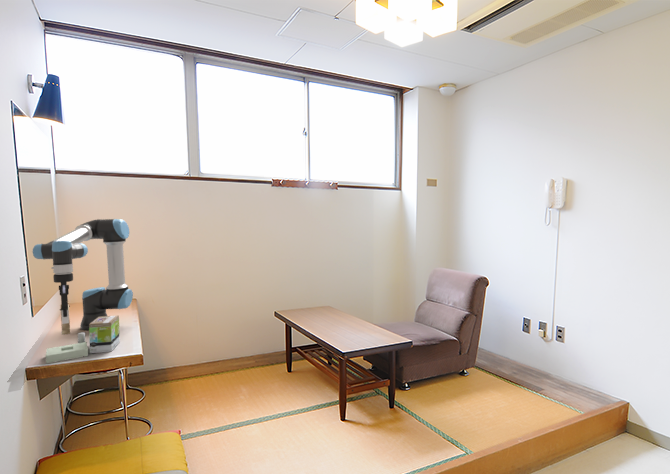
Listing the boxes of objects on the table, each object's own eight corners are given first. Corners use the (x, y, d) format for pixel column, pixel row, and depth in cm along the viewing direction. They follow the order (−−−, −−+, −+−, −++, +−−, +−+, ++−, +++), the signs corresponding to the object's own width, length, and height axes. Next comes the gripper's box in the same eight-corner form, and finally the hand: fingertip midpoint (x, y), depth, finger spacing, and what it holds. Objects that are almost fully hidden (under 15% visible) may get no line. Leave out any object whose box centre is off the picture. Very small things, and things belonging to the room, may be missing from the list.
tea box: (112, 351, 187) (111, 322, 186) (89, 354, 184) (87, 323, 183) (120, 342, 201) (119, 314, 201) (98, 344, 199) (97, 316, 198)
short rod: (85, 345, 197) (84, 332, 196) (85, 347, 194) (85, 333, 194) (78, 346, 195) (77, 333, 194) (78, 348, 192) (77, 334, 192)
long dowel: (70, 332, 183) (68, 303, 183) (70, 333, 181) (68, 304, 180) (62, 333, 182) (60, 304, 181) (61, 335, 179) (60, 305, 178)
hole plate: (87, 348, 192) (86, 341, 191) (88, 355, 182) (87, 348, 182) (47, 355, 182) (46, 348, 182) (46, 363, 173) (45, 356, 172)
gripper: (53, 272, 184) (56, 320, 185) (52, 276, 171) (55, 327, 172) (72, 270, 189) (74, 317, 190) (73, 274, 175) (75, 324, 176)
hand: (65, 322), depth 181 cm, fingers closed on long dowel, 3 cm apart
